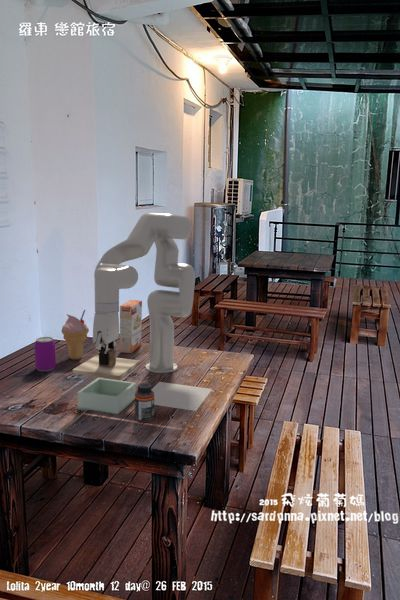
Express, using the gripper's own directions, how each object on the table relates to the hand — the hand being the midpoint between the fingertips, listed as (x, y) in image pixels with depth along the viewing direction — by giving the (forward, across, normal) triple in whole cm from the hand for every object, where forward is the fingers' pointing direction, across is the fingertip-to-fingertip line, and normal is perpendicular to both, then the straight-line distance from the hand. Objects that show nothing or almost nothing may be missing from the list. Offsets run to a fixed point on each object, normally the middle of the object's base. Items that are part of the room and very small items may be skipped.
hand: (107, 361), depth 169 cm
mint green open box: (+15, 0, 0) cm, 15 cm away
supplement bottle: (+15, +6, +16) cm, 23 cm away
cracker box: (+15, -59, -18) cm, 64 cm away
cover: (+2, 0, 0) cm, 2 cm away
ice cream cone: (+15, -39, -34) cm, 54 cm away
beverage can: (+15, -23, -38) cm, 47 cm away
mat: (+15, -14, +19) cm, 28 cm away
